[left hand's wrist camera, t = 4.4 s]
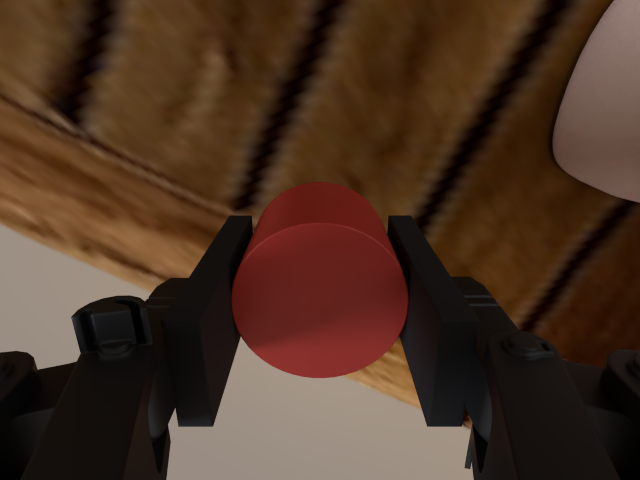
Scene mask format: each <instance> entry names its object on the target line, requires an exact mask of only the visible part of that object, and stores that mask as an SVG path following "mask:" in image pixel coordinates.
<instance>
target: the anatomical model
mask: <svg viewBox="0 0 640 480" xmlns="http://www.w3.org/2000/svg"><path fill="white" fill-rule="evenodd" d="M553 153H554V157H555V159H556V161H557V163H558V164H559V166H560V167H561V168H562V169H563V170H564V171H566V172H567V173H568V174H570V175H571V176H573V177H575V178H576V179H578V180H579V181H582V182H584V183H586V184H588V185H590V186H593V187H595V188H597V189H599V190H601V191H604V192H606V193H608V194H611V195H613V196H616V197H619V198H623V199H627V200H631V201H636V202H640V0H614V1H613V2H612V4H611V5H610V6H609V8H608V9H607V10H606V12H605V13H604V15H603V16H602V18H601V19H600V21H599V23H598V24H597V26H596V27H595V29H594V31H593V32H592V34H591V35H590V37H589V39H588V41H587V43H586V45H585V47H584V49H583V51H582V53H581V55H580V57H579V59H578V62H577V64H576V66H575V69H574V71H573V74H572V76H571V78H570V81H569V83H568V86H567V89H566V91H565V94H564V97H563V100H562V103H561V106H560V109H559V112H558V116H557V120H556V123H555V128H554V133H553Z"/></svg>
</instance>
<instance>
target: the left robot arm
mask: <svg viewBox="0 0 640 480" xmlns="http://www.w3.org/2000/svg"><path fill="white" fill-rule="evenodd" d="M252 235H253V228H252V216H229V218H228V219H227V221H226V222H225V224H224V225H223V227H222V228H221V230H220V231H219V233H218V234H217V236H216V237H215V239H214V240H213V242H212V243H211V245H210V246H209V248H208V250H207V251H206V253H205V254H204V256H203V257H202V259H201V260H200V262H199V263H198V265H197V266H196V268H195V269H194V271H193V272H192V274H191V275H190V277H189V278H170V279H169V280H167V281H165V282H164V283H162V284H160V285H159V286H157V287H156V288H155V290H154V291H153V292H152V293H151V295H150V296H149V299H147V300H146V301H143V300H142V299H141V298H139V297H134V296H114V297H108V298H103V299H100V300H97V301H95V302H92V303H89V304H88V305H86V306H84V307H82V308H80V309H79V310H78V311H77V312H76V313H75V314H74V315H73V316H72V317H71V318H72V322H73V326H74V329H75V333H76V337H77V341H78V345H79V349H80V352H81V354H80V356H79V358H78V360H77V362H73V363H70V364H65V365H60V366H55V367H49V368H45V369H39V370H37V367H36V364H35V361H34V357H32V356H31V355H30V354H28V353H26V352H19V351H12V352H1V353H0V480H166V477H167V468H168V460H169V451H170V443H171V441H170V434H169V429H168V423H169V421H170V418H171V416H172V414H173V412H174V409H175V408H176V414H177V420H178V426H179V427H180V426H181V427H186V426H188V427H190V426H191V427H193V426H194V427H197V426H199V427H200V426H201V427H207V426H208V427H210V426H211V427H212V426H213V425H214V422H215V418H216V415H217V412H218V408H219V405H220V402H221V399H222V395H223V392H224V389H225V386H226V383H227V379H228V376H229V373H230V369H231V366H232V363H233V360H234V356H235V353H236V350H237V347H238V343H239V340H240V337H241V335H240V333H239V332H238V330H237V327H236V325H235V322H234V319H233V314H232V305H231V289H232V285H233V280H234V277H235V275H236V272H237V270H238V268H239V265H240V263H241V261H242V258H243V256H244V254H245V251H246V249H247V247H248V244H249V242H250V240H251V237H252ZM387 235H388V238H389V240H390V242H391V245H392V247H393V249H394V252H395V254H396V256H397V259H398V261H399V263H400V266H401V268H402V270H403V273H404V276H405V279H406V281H407V286H408V291H409V306H408V314H407V318H406V321H405V324H404V326H403V329H402V331H401V333H400V335H399V336H400V339H401V343H402V346H403V349H404V352H405V356H406V359H407V362H408V365H409V369H410V372H411V375H412V378H413V382H414V385H415V388H416V391H417V395H418V398H419V401H420V404H421V408H422V411H423V414H424V417H425V421H426V424H427V426H431V427H432V426H433V427H436V426H438V427H439V426H441V427H444V426H446V427H448V426H449V427H451V426H452V427H462V422H463V416H464V410H465V407H466V409H467V411H468V413H469V416H470V418H471V420H472V422H473V423H472V429H471V434H470V440H469V445H468V451H467V456H466V462H465V468H468V469H470V467H471V462H472V468H473V476H474V480H640V351H636V350H627V349H623V350H616V351H613V352H611V353H610V354H609V355H607V358H606V362H605V365H604V368H600V367H595V366H590V365H585V364H580V363H575V362H570V361H566V360H562V358H561V356H560V353H559V352H558V351H557V350H556V348H555V347H554V346H553V345H552V344H551V343H549V342H548V341H546V340H545V339H543V338H541V337H539V336H537V335H534V334H532V333H529V332H525V331H520V330H519V329H518V328H517V327H516V326H515V324H514V323H513V322H512V320H511V319H510V318H509V317H508V315H507V314H506V313H505V312H504V310H503V309H502V308H501V307H500V306H499V304H498V303H497V301H496V300H495V299H494V298H492V295H491V294H490V293H489V291H488V290H487V289H486V288H485V286H484V285H482V284H481V283H479V282H477V281H476V280H474V279H472V278H471V277H451V276H450V275H449V273H448V272H447V270H446V269H445V267H444V266H443V264H442V263H441V261H440V260H439V258H438V257H437V255H436V254H435V252H434V251H433V249H432V248H431V246H430V244H429V243H428V241H427V240H426V238H425V237H424V235H423V234H422V232H421V231H420V229H419V228H418V226H417V225H416V223H415V222H414V220H413V219H412V217H411V216H389V218H388V233H387Z"/></svg>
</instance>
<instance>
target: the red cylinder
mask: <svg viewBox="0 0 640 480" xmlns="http://www.w3.org/2000/svg"><path fill="white" fill-rule="evenodd" d="M231 305H232V314H233V319H234V322H235V325H236V327H237V330H238V332H239V333H240V335H241V337H242V339H243V340H244V341H245V343H246V344H247V345H248V347H249V348H250V349H251V350H252V351H253V352H254V353H255V354H256V355H257V356H259V357H260V358H261V359H262V360H264V361H265V362H267V363H268V364H270V365H272V366H273V367H275V368H277V369H280V370H282V371H284V372H287V373H290V374H294V375H298V376H302V377H311V378H329V377H337V376H342V375H346V374H349V373H353V372H356V371H358V370H360V369H362V368H365V367H366V366H368V365H370V364H372V363H373V362H375V361H376V360H377V359H379V358H380V357H381V356H383V355H384V354H385V353H386V352H387V351H388V350H389V349H390V348H391V346H392V345H393V344H394V342H395V341H396V340H397V338H398V336H399V335H400V333H401V331H402V329H403V326H404V324H405V321H406V318H407V314H408V306H409V291H408V286H407V281H406V279H405V276H404V273H403V270H402V268H401V266H400V263H399V261H398V259H397V256H396V254H395V252H394V249H393V247H392V245H391V242H390V240H389V238H388V235H387V233H386V231H385V228H384V226H383V224H382V221H381V219H380V217H379V215H378V213H377V212H376V211H375V209H374V208H373V206H372V205H371V204H370V203H369V202H368V201H367V200H366V199H365V198H363V197H362V196H361V195H360V194H358V193H356V192H355V191H353V190H351V189H349V188H346V187H344V186H341V185H337V184H333V183H326V182H315V183H307V184H303V185H299V186H296V187H294V188H291V189H289V190H287V191H285V192H284V193H282V194H281V195H279V196H278V197H276V198H275V199H274V200H273V201H272V202H271V203H270V204H269V205H268V206H267V208H266V209H265V210H264V212H263V214H262V215H261V217H260V219H259V221H258V224H257V226H256V228H255V230H254V233H253V235H252V237H251V240H250V242H249V244H248V247H247V249H246V251H245V254H244V256H243V258H242V261H241V263H240V265H239V268H238V270H237V272H236V275H235V277H234V280H233V285H232V289H231Z"/></svg>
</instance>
